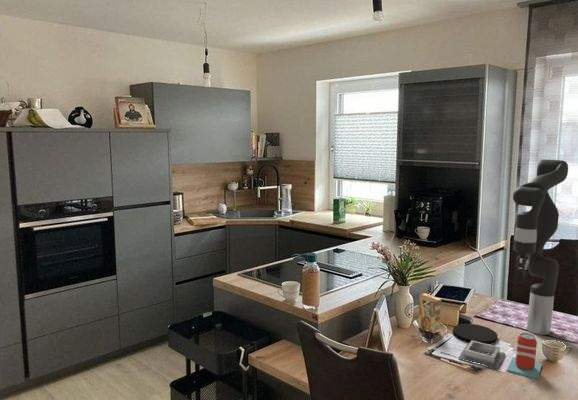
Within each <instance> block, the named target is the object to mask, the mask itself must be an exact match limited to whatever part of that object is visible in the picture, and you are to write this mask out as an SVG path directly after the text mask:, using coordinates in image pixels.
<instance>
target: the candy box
mask: <svg viewBox="0 0 578 400" xmlns="http://www.w3.org/2000/svg"><path fill="white" fill-rule="evenodd" d="M418 304H419V308H418V323H417V324H418V326H417V327H418V328H419V329H422V330H424V331H425V330H432V331H436V330H438V331H439V333H440V330H441V329H440V328H441V312H442V311H441V310H442V308H441V307H442V298H439V297H437V296H433V295H431V294H428V293H421V294H419V302H418Z"/></svg>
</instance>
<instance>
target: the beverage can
mask: <svg viewBox="0 0 578 400" xmlns="http://www.w3.org/2000/svg"><path fill="white" fill-rule="evenodd" d="M516 341H517V343H516V353H515V358H516V365H518V367H520V368H522V369H526V370H530V369H533V368H534V367H535V363H536V357H537V356H536V353H537V346H538V345H537V343H538V342H537V339H536V336H535V335H534V334H531V333H527V332H522V333H519V336H518V337H517V340H516Z"/></svg>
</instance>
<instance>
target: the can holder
mask: <svg viewBox="0 0 578 400" xmlns="http://www.w3.org/2000/svg"><path fill="white" fill-rule="evenodd" d="M475 350H476V351H475ZM500 350H501V347H500V346H496V345H494V344H490V345H489V344H485V343H481V342H477V341H472V340H471V342H470V343H467V344H466V346H465V347H464V349H463V350H462V352H461V353H460V354H459V356H458V359H459V358H461V359H464V360H468V361H472V362H476V363H480V364H484V365H486V366H488V367H487V368H489V369H494V370H497V371H498V370H499V368H500V366H501V364H502V362H503V360H504V358H505V355H506V353H505V352H501V351H500ZM478 351H480V352H478ZM482 352H484V353H482ZM486 353H489V354H486ZM490 354H493V355H490ZM503 357H504V358H503ZM502 359H503V360H502ZM501 361H502V362H501ZM486 366H485V367H486Z"/></svg>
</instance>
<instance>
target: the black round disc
mask: <svg viewBox="0 0 578 400" xmlns="http://www.w3.org/2000/svg"><path fill="white" fill-rule="evenodd" d="M452 335H453V336H454V337H455V338H456V339H458V340H459V341H462V342H463V343H467V344H469V343H470V342H471V340H472V341H477V342H481V343H485V344H490V345H494V344H496V343H497V342H496V341H498V334H497V332H496V331H495V330H493V329H492V328H490V327H487V326H483V325H480V324H474V323H459V324H456V325H454V326H453V327H452ZM493 343H494V344H493Z"/></svg>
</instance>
